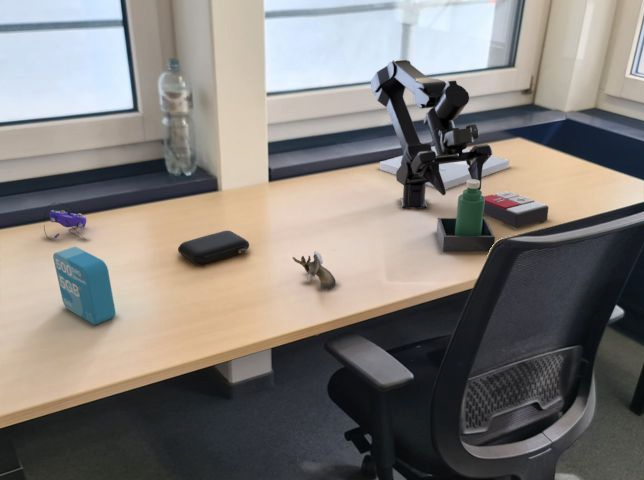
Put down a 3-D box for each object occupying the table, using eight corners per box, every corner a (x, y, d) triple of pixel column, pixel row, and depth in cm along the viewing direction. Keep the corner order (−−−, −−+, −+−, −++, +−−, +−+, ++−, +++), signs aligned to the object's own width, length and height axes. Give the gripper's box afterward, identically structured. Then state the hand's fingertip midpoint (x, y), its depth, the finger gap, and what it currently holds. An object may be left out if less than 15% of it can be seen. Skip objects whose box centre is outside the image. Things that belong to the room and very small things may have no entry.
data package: (63, 307, 149) (51, 250, 142) (83, 299, 151) (72, 244, 145) (96, 327, 142) (85, 269, 135) (117, 319, 145) (107, 262, 138)
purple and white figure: (91, 208, 184) (89, 214, 175) (86, 240, 186) (84, 248, 177) (48, 198, 180) (44, 204, 171) (44, 232, 183) (39, 239, 174)
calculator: (507, 189, 197) (549, 203, 186) (505, 205, 200) (547, 220, 189) (475, 196, 192) (517, 211, 181) (474, 212, 194) (515, 229, 184)
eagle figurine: (285, 275, 159) (308, 283, 152) (297, 243, 158) (321, 249, 151) (312, 286, 164) (336, 294, 157) (324, 255, 163) (348, 262, 156)
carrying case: (199, 270, 163) (256, 253, 171) (198, 257, 161) (255, 241, 169) (175, 254, 170) (230, 238, 178) (173, 242, 168) (229, 226, 176)
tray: (436, 233, 181) (437, 217, 179) (484, 233, 182) (486, 217, 179) (442, 253, 172) (443, 236, 169) (493, 253, 172) (495, 236, 170)
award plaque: (379, 169, 222) (379, 162, 221) (445, 149, 239) (446, 142, 238) (442, 190, 207) (443, 182, 206) (508, 167, 224) (509, 160, 223)
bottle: (452, 238, 178) (458, 176, 170) (477, 238, 178) (484, 176, 170) (455, 248, 173) (462, 185, 165) (481, 248, 173) (489, 185, 165)
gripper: (419, 115, 165) (439, 180, 163) (493, 108, 171) (513, 170, 168) (402, 142, 176) (420, 203, 173) (472, 134, 181) (491, 193, 179)
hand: (462, 192), depth 173 cm, fingers open, 9 cm apart
